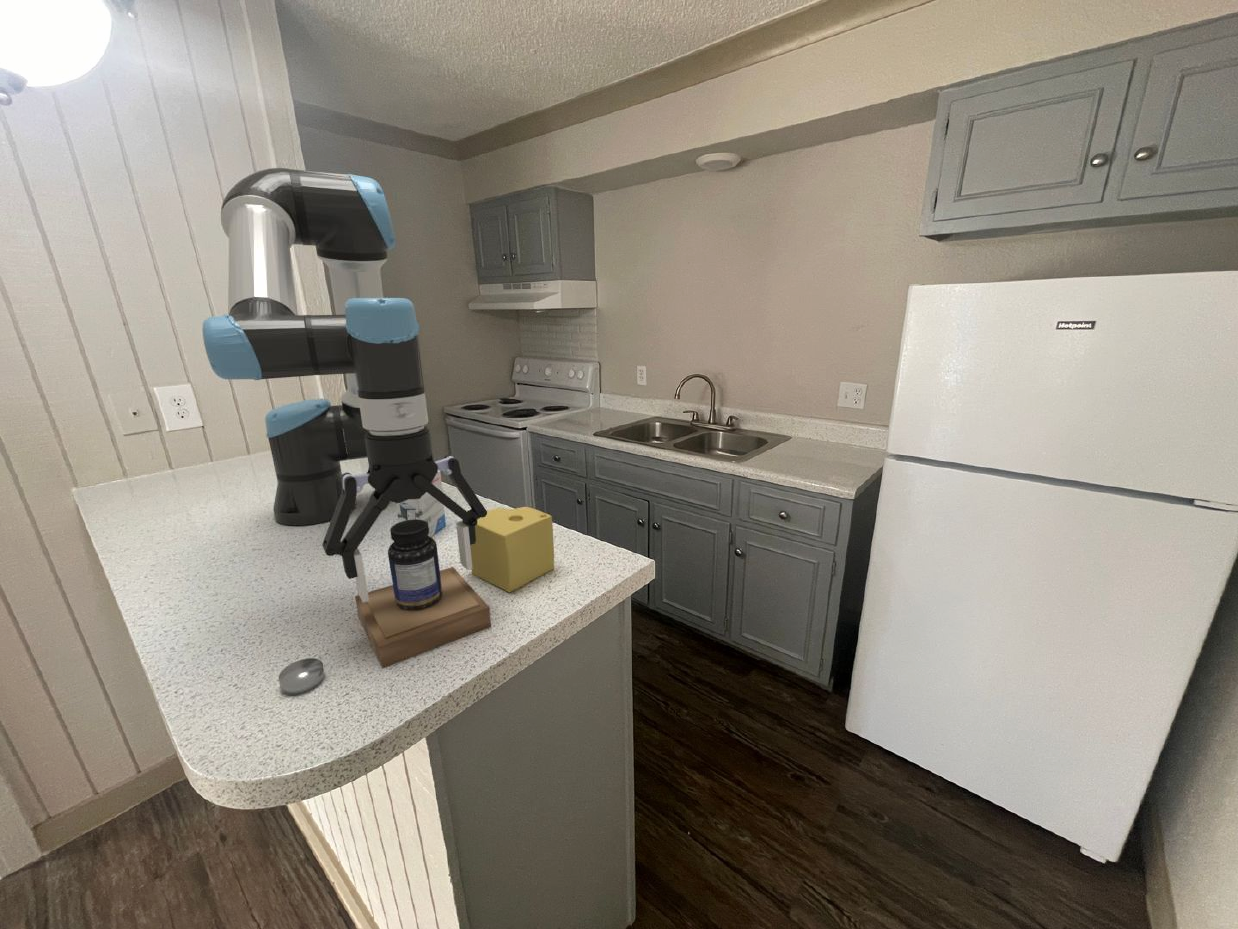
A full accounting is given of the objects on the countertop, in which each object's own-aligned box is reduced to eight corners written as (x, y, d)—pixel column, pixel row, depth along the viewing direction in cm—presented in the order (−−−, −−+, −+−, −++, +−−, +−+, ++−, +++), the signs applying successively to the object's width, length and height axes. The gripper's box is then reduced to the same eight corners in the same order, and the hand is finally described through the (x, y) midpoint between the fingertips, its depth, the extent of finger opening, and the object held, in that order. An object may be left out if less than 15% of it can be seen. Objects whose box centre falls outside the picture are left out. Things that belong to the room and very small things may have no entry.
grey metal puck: (280, 680, 61) (277, 668, 60) (322, 665, 63) (319, 653, 63) (283, 702, 57) (280, 689, 57) (328, 686, 60) (325, 673, 59)
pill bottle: (405, 588, 74) (395, 517, 71) (448, 587, 74) (439, 516, 71) (388, 612, 68) (376, 536, 65) (435, 611, 68) (425, 535, 65)
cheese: (516, 551, 92) (512, 499, 89) (558, 570, 85) (556, 514, 82) (466, 574, 84) (460, 518, 81) (508, 596, 78) (504, 536, 75)
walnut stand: (358, 614, 73) (354, 594, 72) (454, 583, 81) (452, 565, 80) (382, 667, 63) (378, 644, 62) (490, 626, 71) (489, 605, 70)
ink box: (425, 523, 104) (418, 468, 100) (448, 525, 103) (441, 469, 99) (399, 542, 96) (391, 482, 92) (424, 544, 95) (416, 484, 91)
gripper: (281, 452, 54) (318, 627, 60) (503, 420, 68) (514, 564, 74) (275, 437, 60) (309, 598, 66) (481, 411, 74) (492, 545, 80)
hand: (417, 581), depth 70 cm, fingers open, 13 cm apart
